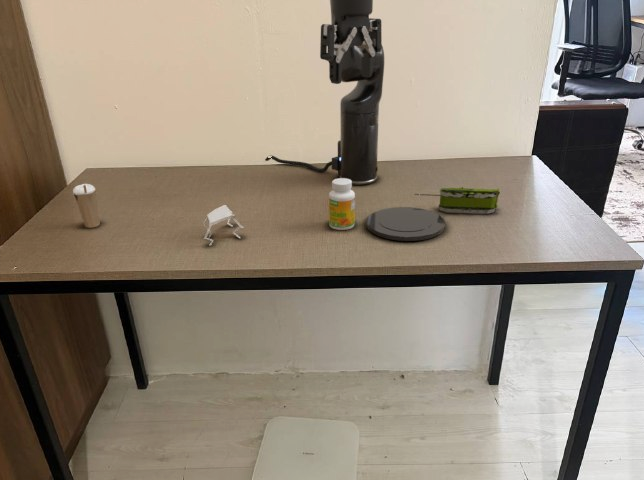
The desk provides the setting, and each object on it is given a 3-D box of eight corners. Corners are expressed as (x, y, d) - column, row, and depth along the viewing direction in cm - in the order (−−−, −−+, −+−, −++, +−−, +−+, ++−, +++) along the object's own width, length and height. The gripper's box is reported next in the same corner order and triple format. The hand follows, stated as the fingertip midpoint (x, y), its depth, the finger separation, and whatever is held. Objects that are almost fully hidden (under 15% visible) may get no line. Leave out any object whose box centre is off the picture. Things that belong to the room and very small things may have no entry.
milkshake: (84, 232, 122) (72, 187, 117) (80, 223, 126) (69, 180, 121) (105, 227, 124) (95, 183, 119) (101, 219, 128) (91, 176, 123)
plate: (369, 243, 112) (369, 237, 112) (363, 213, 126) (364, 207, 125) (451, 241, 112) (452, 235, 111) (436, 211, 125) (437, 205, 125)
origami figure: (244, 244, 114) (242, 221, 111) (202, 247, 113) (199, 224, 111) (245, 221, 124) (243, 200, 121) (207, 224, 124) (204, 202, 121)
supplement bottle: (325, 228, 119) (324, 184, 114) (334, 219, 123) (333, 175, 118) (350, 232, 117) (350, 186, 112) (357, 222, 122) (358, 178, 117)
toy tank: (502, 195, 117) (499, 171, 124) (409, 192, 121) (412, 169, 128) (497, 224, 122) (495, 198, 129) (408, 220, 126) (411, 196, 133)
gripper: (364, -16, 110) (362, 73, 118) (309, -13, 102) (311, 83, 110) (394, -16, 105) (390, 77, 113) (338, -12, 97) (338, 87, 105)
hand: (351, 80), depth 112 cm, fingers open, 8 cm apart
